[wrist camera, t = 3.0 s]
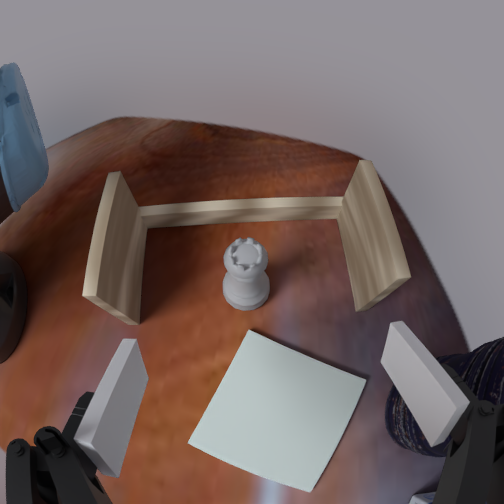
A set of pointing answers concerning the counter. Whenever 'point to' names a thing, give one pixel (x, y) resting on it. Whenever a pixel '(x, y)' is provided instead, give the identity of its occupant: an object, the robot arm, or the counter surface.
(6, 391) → the counter surface
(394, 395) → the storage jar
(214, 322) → the counter surface
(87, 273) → the stall
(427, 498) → the string lights box
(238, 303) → the rook chess piece
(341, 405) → the tile
